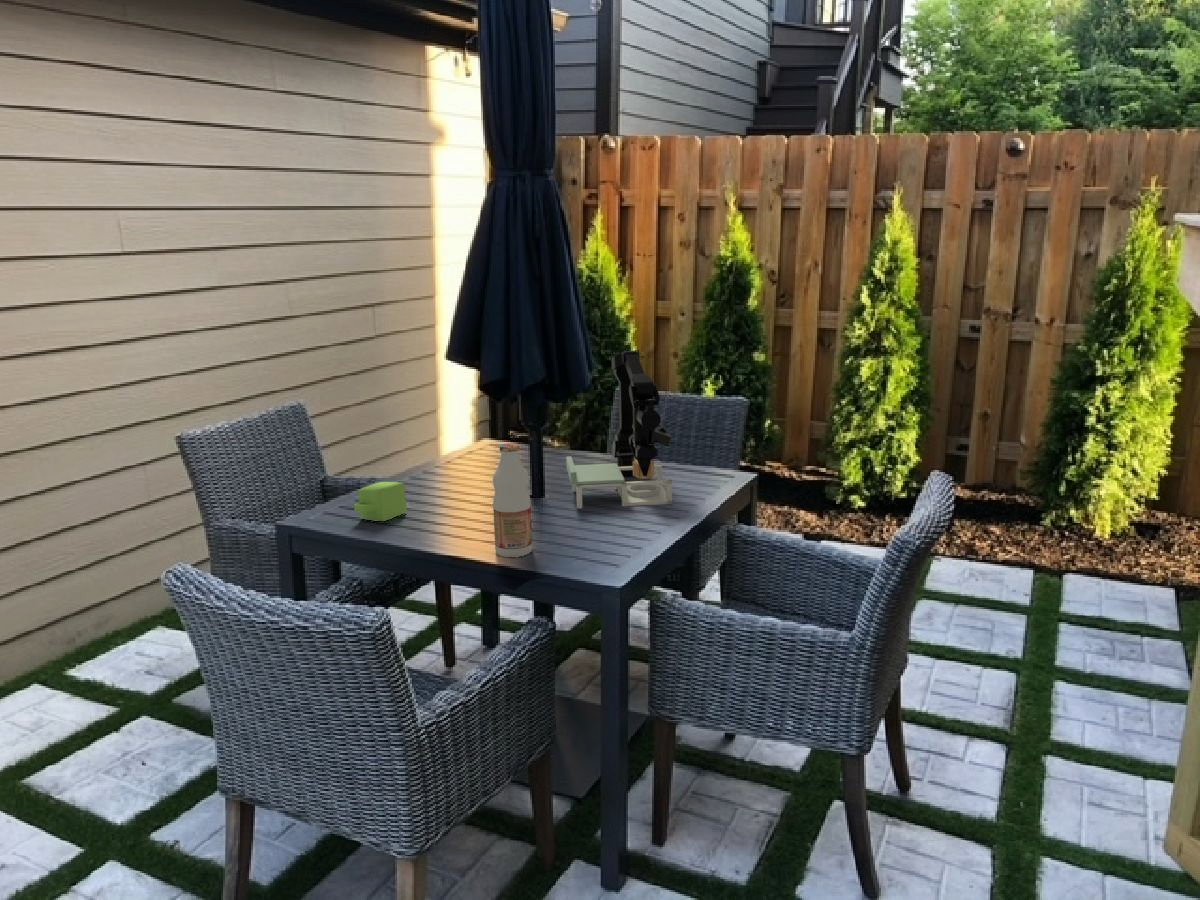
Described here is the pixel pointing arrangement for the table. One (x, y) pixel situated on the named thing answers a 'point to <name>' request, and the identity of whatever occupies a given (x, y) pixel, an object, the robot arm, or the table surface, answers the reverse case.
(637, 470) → the gear hub
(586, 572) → the table surface
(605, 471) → the sliding lid
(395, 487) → the gearbox
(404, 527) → the table surface
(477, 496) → the table surface
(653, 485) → the housing
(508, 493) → the fruit juice
